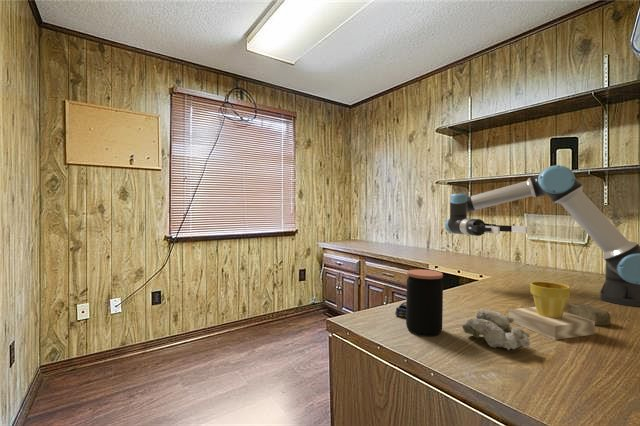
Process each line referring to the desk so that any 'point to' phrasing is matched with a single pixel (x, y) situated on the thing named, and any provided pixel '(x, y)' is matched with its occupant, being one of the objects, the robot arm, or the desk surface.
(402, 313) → the race car
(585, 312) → the stone block
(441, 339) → the desk surface
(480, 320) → the mineral
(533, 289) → the plant pot
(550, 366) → the desk surface
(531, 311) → the birch block
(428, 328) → the coffee jar
